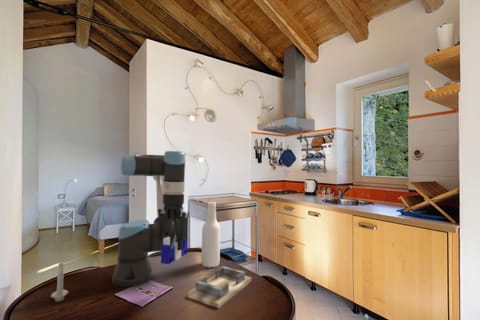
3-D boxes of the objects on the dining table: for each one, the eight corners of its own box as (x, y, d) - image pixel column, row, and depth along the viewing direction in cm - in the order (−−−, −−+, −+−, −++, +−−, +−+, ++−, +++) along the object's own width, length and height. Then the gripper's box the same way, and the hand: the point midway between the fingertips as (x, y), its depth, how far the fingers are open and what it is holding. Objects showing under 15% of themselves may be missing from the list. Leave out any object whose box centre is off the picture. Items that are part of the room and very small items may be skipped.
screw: (47, 302, 85) (59, 295, 90) (59, 304, 85) (71, 296, 89) (48, 264, 86) (61, 258, 91) (60, 265, 85) (72, 260, 90)
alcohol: (214, 259, 128) (215, 200, 129) (222, 265, 121) (224, 203, 121) (198, 263, 123) (199, 201, 124) (206, 269, 116) (208, 204, 116)
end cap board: (186, 296, 91) (187, 284, 91) (223, 273, 112) (223, 263, 112) (218, 308, 84) (218, 294, 84) (251, 281, 105) (251, 270, 105)
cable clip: (177, 251, 99) (178, 236, 99) (187, 253, 97) (187, 237, 97) (157, 262, 88) (157, 245, 88) (168, 264, 86) (168, 246, 86)
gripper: (148, 192, 93) (146, 255, 93) (185, 196, 84) (183, 265, 84) (163, 190, 100) (162, 249, 99) (199, 194, 91) (197, 259, 90)
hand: (171, 256), depth 92 cm, fingers closed on cable clip, 5 cm apart
